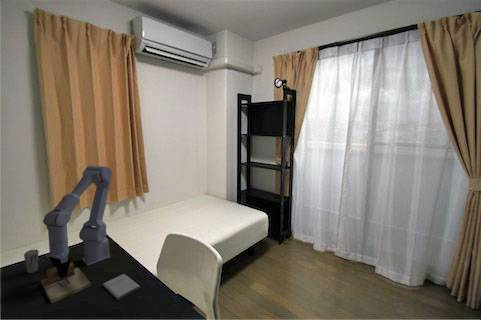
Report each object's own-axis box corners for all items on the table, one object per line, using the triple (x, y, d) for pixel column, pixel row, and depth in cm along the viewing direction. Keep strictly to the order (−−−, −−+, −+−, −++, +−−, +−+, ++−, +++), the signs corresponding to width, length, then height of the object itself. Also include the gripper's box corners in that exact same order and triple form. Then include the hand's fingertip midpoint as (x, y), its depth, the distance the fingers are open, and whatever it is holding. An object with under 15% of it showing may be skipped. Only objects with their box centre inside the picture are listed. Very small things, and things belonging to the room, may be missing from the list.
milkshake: (32, 275, 92) (30, 252, 91) (22, 273, 93) (20, 250, 92) (44, 268, 96) (42, 247, 95) (34, 267, 97) (32, 245, 96)
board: (78, 269, 96) (77, 267, 96) (91, 285, 86) (90, 283, 86) (41, 283, 87) (41, 280, 87) (51, 303, 77) (51, 300, 77)
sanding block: (71, 271, 93) (71, 261, 93) (74, 275, 91) (74, 264, 90) (47, 280, 87) (46, 269, 87) (49, 284, 85) (48, 273, 84)
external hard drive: (118, 301, 79) (103, 287, 87) (140, 289, 86) (124, 276, 93) (117, 297, 79) (103, 283, 86) (140, 285, 86) (124, 273, 93)
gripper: (41, 238, 89) (43, 270, 90) (49, 250, 80) (52, 286, 81) (63, 232, 94) (65, 263, 96) (73, 243, 85) (75, 276, 86)
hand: (60, 273), depth 89 cm, fingers open, 7 cm apart
